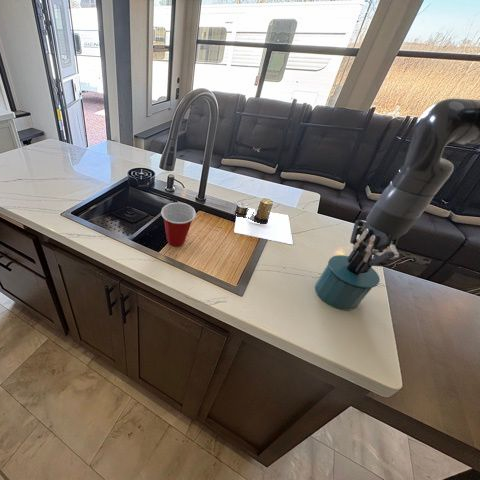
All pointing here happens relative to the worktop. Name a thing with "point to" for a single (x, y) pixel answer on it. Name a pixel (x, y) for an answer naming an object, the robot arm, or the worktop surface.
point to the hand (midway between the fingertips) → (355, 266)
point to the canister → (339, 291)
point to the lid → (353, 270)
